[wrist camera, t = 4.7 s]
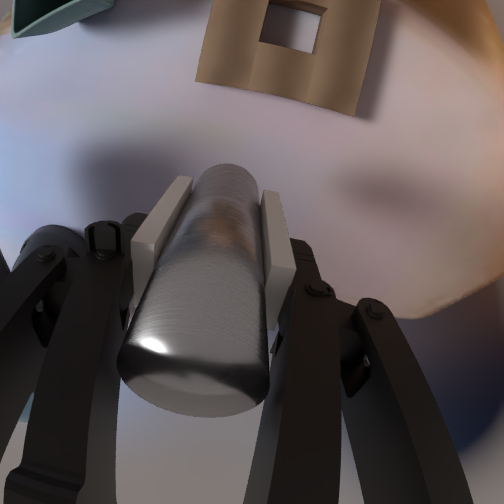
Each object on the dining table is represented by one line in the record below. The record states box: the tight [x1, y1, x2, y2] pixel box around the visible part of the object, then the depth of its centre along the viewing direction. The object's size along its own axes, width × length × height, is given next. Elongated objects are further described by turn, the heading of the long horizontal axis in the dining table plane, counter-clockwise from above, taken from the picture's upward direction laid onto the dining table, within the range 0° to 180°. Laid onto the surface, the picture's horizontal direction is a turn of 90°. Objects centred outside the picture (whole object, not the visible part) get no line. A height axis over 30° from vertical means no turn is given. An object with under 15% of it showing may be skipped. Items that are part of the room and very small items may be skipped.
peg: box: [116, 164, 270, 418], centre depth 11 cm, size 4×4×12 cm
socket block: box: [195, 0, 381, 117], centre depth 19 cm, size 14×14×3 cm
